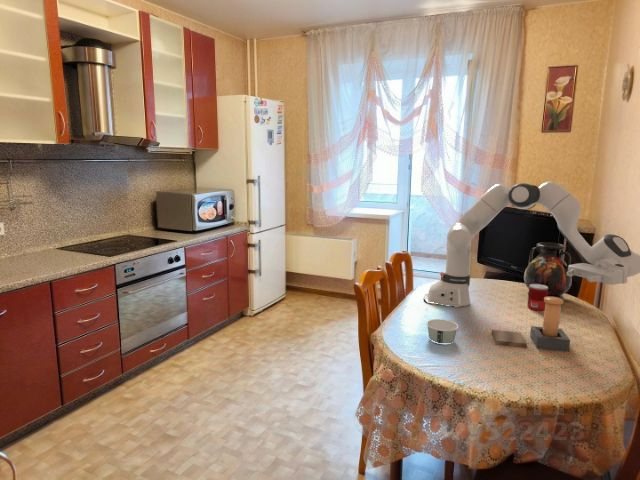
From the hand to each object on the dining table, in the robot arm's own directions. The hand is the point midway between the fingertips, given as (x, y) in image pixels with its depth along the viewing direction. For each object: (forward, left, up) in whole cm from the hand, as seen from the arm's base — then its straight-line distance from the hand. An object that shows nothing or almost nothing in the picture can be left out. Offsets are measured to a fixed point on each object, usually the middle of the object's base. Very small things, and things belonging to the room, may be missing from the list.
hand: (578, 276), depth 167 cm
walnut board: (-24, -8, -25) cm, 36 cm away
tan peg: (-10, -8, -25) cm, 28 cm away
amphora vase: (+3, +53, -26) cm, 59 cm away
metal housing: (-10, -8, -25) cm, 28 cm away
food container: (-50, -15, -26) cm, 58 cm away
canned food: (-5, +35, -26) cm, 44 cm away
